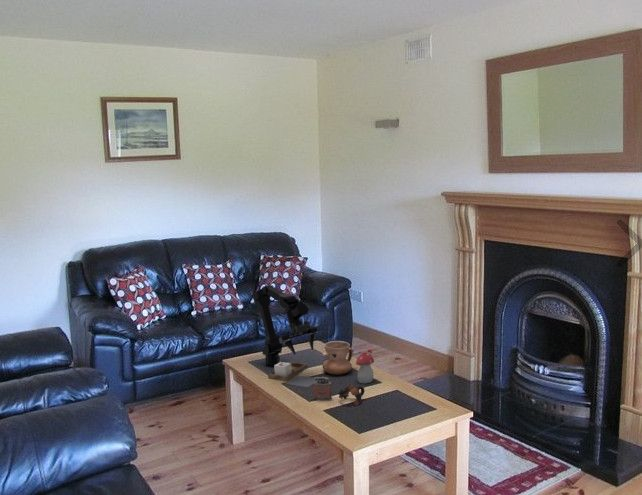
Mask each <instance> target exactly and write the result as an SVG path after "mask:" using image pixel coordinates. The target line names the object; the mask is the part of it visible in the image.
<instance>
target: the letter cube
mask: <svg viewBox="0 0 642 495" xmlns="http://www.w3.org/2000/svg"><path fill="white" fill-rule="evenodd" d="M273 368H274V371H275V375H279V376H286V377H287V376H288V375H290V374H291V373H292V369H291V363H287V362H284V361H280V362H279V363H278V364H276V365H274V367H273Z"/></svg>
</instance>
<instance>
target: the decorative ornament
mask: <svg viewBox="0 0 642 495" xmlns="http://www.w3.org/2000/svg"><path fill="white" fill-rule="evenodd" d="M372 353H373V350H372V349H367V352H363V353H361V354H360V355H358V357H357V358H356V361H355V364H356V365H357V366H360V367H359V369H358V370H357V376H356V380H357V383H358V384H365V385H366V384H369V383H372V382H373V380H374V379H373V378H374V370H373V368H372V366H371V365H372V364H373V363H375V360H374V357H373V355H372Z"/></svg>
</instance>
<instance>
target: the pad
mask: <svg viewBox="0 0 642 495" xmlns="http://www.w3.org/2000/svg"><path fill="white" fill-rule="evenodd" d="M313 382H317V381H315V377H311V376H305V375H299V374H298V375H296V376H295V377H293V378H292V379H290V380H289V381H286V382H285V384H286V385H292V386H298V387H304V388H310V387H311V386H312V385H313Z"/></svg>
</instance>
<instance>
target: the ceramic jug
mask: <svg viewBox="0 0 642 495" xmlns="http://www.w3.org/2000/svg"><path fill="white" fill-rule="evenodd" d="M350 346H351V345H350V343H349V342H347V341H342V340H331V341H328V342H325V344H324V350H325V351H324V352H323V353H322V356H323V357H325V356H327V358H328V359H326V360H325V361H323V364H322V369H323V371H324V372H326V373H327V374H330V375H336V376H337V375H343V374H344V375H345V374H347V373H349V372H350V371H351V370H352V369H353V368H352V367H353V365H352V363H351V360H352V357H353V354H354V352H353V349H352V347H350Z"/></svg>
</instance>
